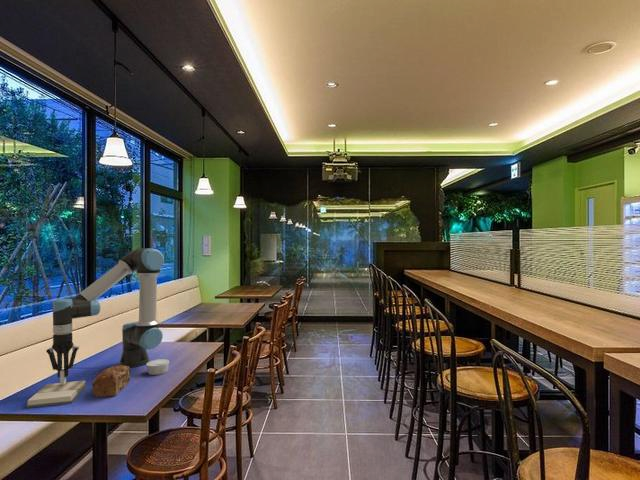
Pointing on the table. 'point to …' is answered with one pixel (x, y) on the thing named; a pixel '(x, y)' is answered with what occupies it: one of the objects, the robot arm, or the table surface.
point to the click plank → (63, 387)
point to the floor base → (54, 398)
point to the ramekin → (157, 366)
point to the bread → (111, 381)
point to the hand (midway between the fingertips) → (63, 384)
